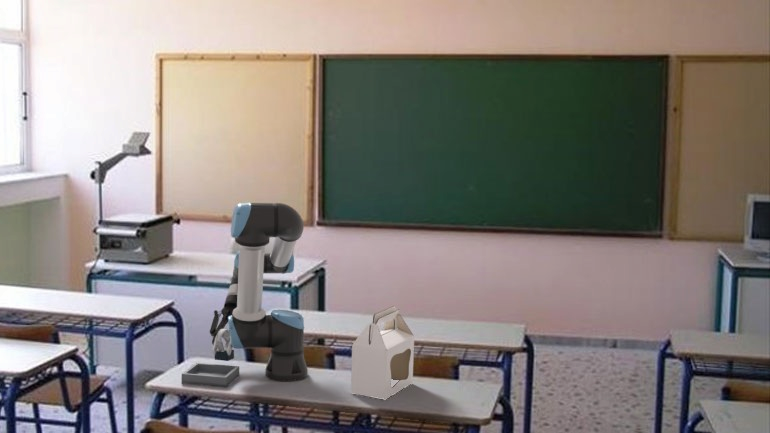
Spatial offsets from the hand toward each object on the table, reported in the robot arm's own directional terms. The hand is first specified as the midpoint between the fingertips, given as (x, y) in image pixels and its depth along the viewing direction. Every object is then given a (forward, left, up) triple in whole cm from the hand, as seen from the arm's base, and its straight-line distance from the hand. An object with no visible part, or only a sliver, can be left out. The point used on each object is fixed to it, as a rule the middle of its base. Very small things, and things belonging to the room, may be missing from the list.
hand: (221, 352), depth 339 cm
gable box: (-60, +5, -7) cm, 61 cm away
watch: (0, -4, -4) cm, 5 cm away
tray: (0, +11, -7) cm, 13 cm away
